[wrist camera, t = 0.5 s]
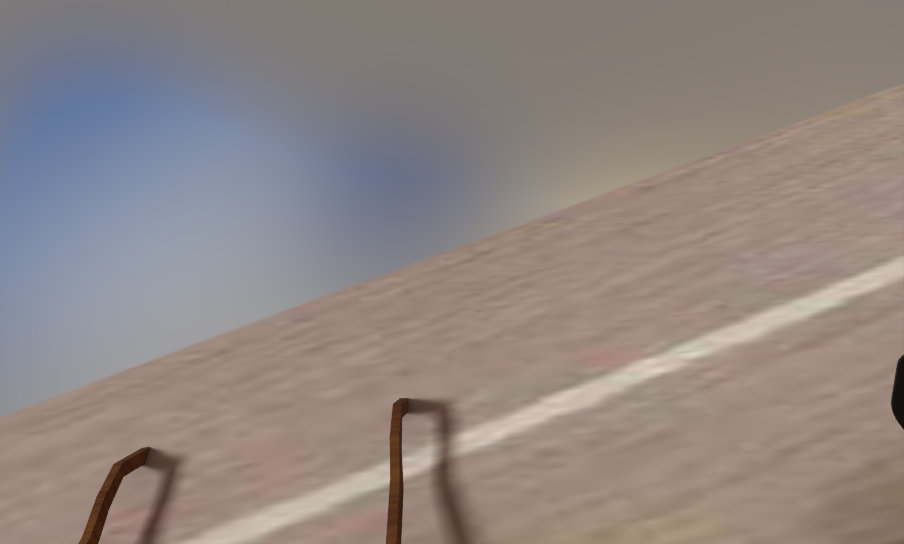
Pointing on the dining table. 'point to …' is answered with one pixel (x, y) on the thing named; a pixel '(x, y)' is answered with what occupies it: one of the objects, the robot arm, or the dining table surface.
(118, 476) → the glasses
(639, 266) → the dining table surface
